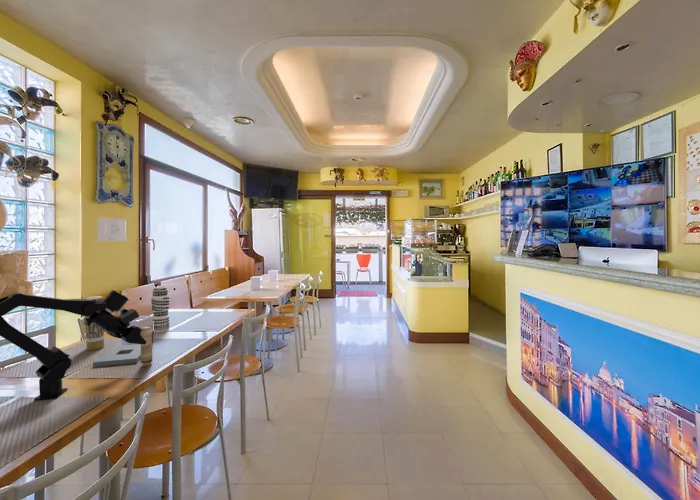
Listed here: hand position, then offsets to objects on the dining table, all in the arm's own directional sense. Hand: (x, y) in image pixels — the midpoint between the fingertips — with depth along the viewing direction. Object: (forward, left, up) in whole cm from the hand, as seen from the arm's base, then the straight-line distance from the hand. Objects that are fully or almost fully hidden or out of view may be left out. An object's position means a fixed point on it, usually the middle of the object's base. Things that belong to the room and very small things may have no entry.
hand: (140, 341), depth 133 cm
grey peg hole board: (+15, +11, -11) cm, 22 cm away
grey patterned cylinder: (+31, +29, -11) cm, 44 cm away
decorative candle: (+56, +7, -11) cm, 58 cm away
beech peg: (+1, -2, -11) cm, 11 cm away
